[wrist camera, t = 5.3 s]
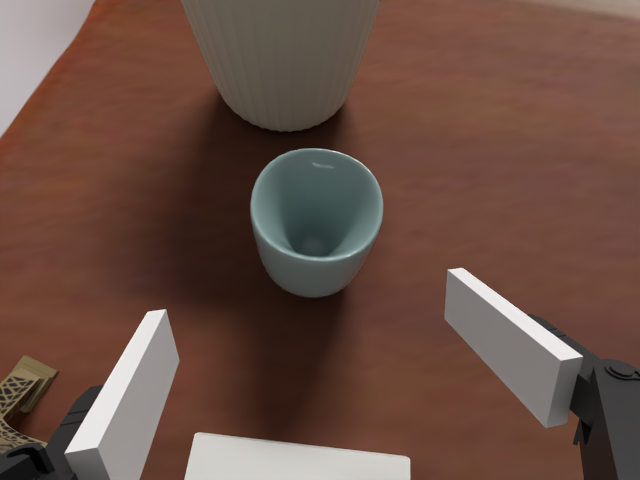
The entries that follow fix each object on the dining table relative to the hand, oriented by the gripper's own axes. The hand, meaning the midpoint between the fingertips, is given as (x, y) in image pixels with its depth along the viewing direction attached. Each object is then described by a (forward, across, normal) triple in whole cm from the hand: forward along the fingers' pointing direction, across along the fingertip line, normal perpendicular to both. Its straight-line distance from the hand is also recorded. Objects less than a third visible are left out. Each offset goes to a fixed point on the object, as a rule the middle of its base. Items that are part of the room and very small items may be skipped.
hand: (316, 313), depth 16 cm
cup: (+12, +1, -3) cm, 13 cm away
